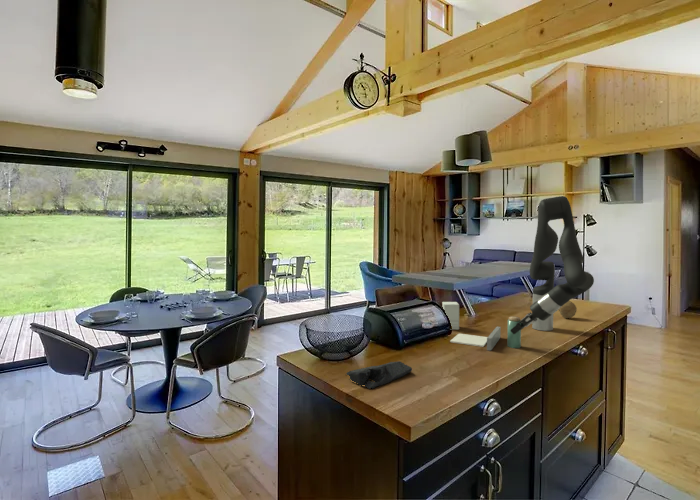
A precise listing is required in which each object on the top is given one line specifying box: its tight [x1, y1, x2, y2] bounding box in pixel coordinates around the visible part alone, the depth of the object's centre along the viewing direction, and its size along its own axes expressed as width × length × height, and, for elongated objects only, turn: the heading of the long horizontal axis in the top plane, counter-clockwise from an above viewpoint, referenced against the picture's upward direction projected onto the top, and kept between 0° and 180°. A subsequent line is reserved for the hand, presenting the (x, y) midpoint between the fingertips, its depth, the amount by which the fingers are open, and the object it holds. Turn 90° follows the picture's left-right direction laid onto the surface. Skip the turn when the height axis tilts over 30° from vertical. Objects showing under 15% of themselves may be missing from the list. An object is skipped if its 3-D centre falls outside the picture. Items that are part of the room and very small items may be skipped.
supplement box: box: [441, 301, 460, 330], centre depth 194 cm, size 7×7×13 cm
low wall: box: [486, 326, 502, 352], centre depth 166 cm, size 22×2×5 cm, turn 149°
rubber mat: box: [449, 333, 488, 348], centre depth 171 cm, size 14×14×1 cm
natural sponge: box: [558, 300, 578, 319], centre depth 212 cm, size 9×9×10 cm
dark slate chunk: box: [345, 360, 413, 390], centre depth 131 cm, size 15×22×5 cm
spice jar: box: [506, 316, 522, 349], centre depth 162 cm, size 5×5×12 cm
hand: (515, 330), depth 162 cm, fingers open, 8 cm apart
